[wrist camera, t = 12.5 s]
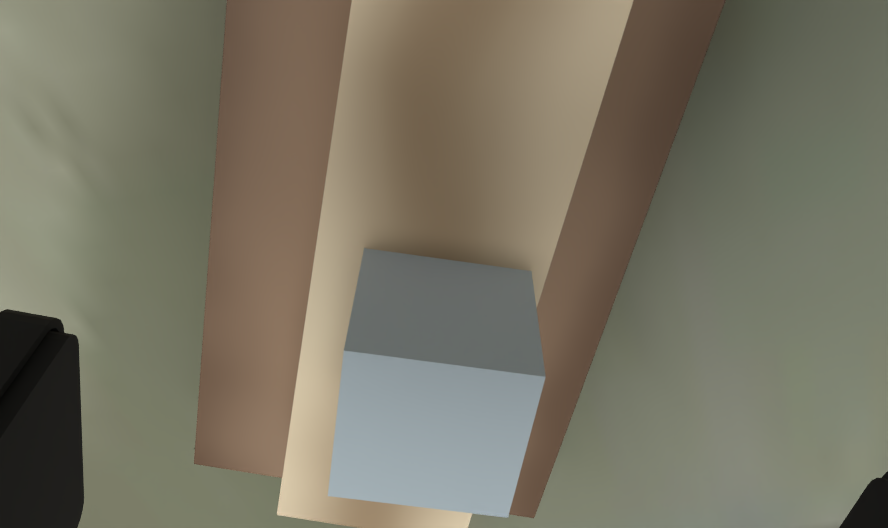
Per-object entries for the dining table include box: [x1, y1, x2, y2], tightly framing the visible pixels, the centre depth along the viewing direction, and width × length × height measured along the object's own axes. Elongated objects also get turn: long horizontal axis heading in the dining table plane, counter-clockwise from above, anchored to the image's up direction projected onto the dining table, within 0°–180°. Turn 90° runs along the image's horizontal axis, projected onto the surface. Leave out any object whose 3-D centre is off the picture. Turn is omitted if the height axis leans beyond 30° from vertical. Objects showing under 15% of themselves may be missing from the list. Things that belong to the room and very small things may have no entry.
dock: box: [194, 0, 726, 518], centre depth 25 cm, size 12×22×3 cm, turn 168°
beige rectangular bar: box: [277, 0, 634, 528], centre depth 22 cm, size 6×18×4 cm, turn 168°
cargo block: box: [328, 248, 546, 518], centre depth 19 cm, size 4×4×4 cm
